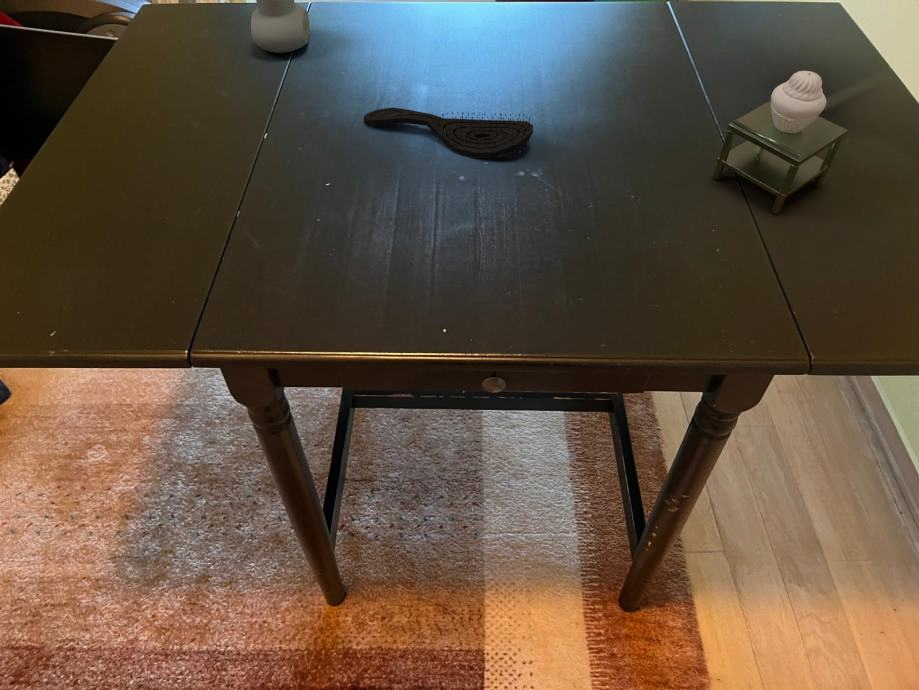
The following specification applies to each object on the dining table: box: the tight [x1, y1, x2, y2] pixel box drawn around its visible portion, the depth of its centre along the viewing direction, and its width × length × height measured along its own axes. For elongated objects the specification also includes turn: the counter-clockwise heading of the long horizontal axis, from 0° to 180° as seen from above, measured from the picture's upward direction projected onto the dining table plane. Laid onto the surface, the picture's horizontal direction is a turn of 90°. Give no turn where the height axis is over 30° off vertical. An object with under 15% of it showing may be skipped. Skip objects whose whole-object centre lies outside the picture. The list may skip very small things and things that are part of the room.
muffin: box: [770, 70, 827, 134], centre depth 81 cm, size 6×6×7 cm
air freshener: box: [250, 0, 310, 54], centre depth 111 cm, size 11×8×10 cm
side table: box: [712, 100, 849, 216], centre depth 86 cm, size 10×10×9 cm
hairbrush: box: [363, 107, 534, 159], centre depth 96 cm, size 8×4×25 cm
